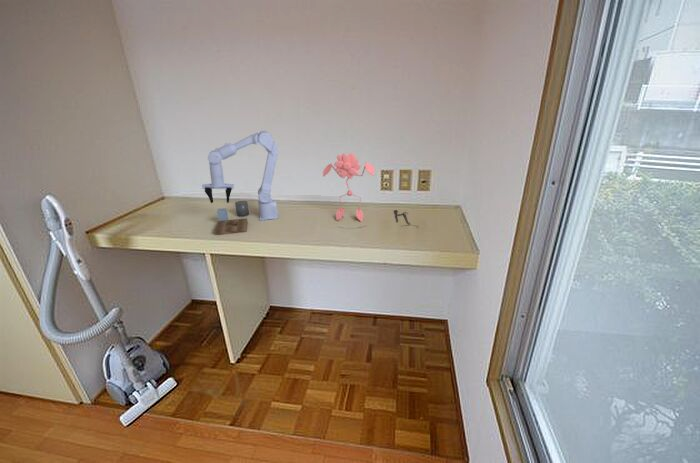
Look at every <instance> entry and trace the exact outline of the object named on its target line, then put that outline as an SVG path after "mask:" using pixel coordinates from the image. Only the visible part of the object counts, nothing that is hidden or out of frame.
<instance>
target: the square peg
mask: <svg viewBox="0 0 700 463" xmlns="http://www.w3.org/2000/svg"><path fill="white" fill-rule="evenodd" d="M216 213H217V219H218V221H224V220H229V216H228V210H227V208H226V207H224V208H218V209H217V210H216Z"/></svg>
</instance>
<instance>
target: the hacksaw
mask: <svg viewBox="0 0 700 463" xmlns="http://www.w3.org/2000/svg"><path fill="white" fill-rule="evenodd" d="M393 213H394V217H395V218H394V219H395V222H396V223H398V222H399V219H398V217H399V216H403V218H404V220H405V223H406V225H405V224H403V225H402V227H406V226H408V227H411V226H413V227H415V225H414V224H411V222H409V221H408V218H407V214H408V212H407V211H404V212H402V213H400V214H398V213H399V211H398V210H397V209H394V210H393ZM406 213H407V214H406ZM416 228H419V226H418V225H416Z"/></svg>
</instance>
